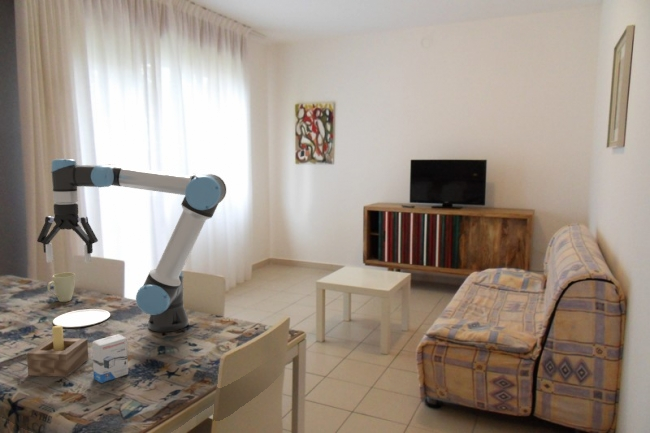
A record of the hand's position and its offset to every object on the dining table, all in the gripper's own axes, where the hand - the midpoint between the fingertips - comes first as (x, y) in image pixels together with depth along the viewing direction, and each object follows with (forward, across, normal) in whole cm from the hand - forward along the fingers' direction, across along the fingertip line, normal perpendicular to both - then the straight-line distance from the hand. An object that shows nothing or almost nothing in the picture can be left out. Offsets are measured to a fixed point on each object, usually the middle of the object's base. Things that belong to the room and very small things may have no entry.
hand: (68, 262), depth 163 cm
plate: (+29, +7, -20) cm, 36 cm away
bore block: (+29, -8, +22) cm, 37 cm away
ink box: (+29, -27, +28) cm, 48 cm away
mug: (+29, +28, -42) cm, 58 cm away
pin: (+28, -8, +22) cm, 36 cm away
